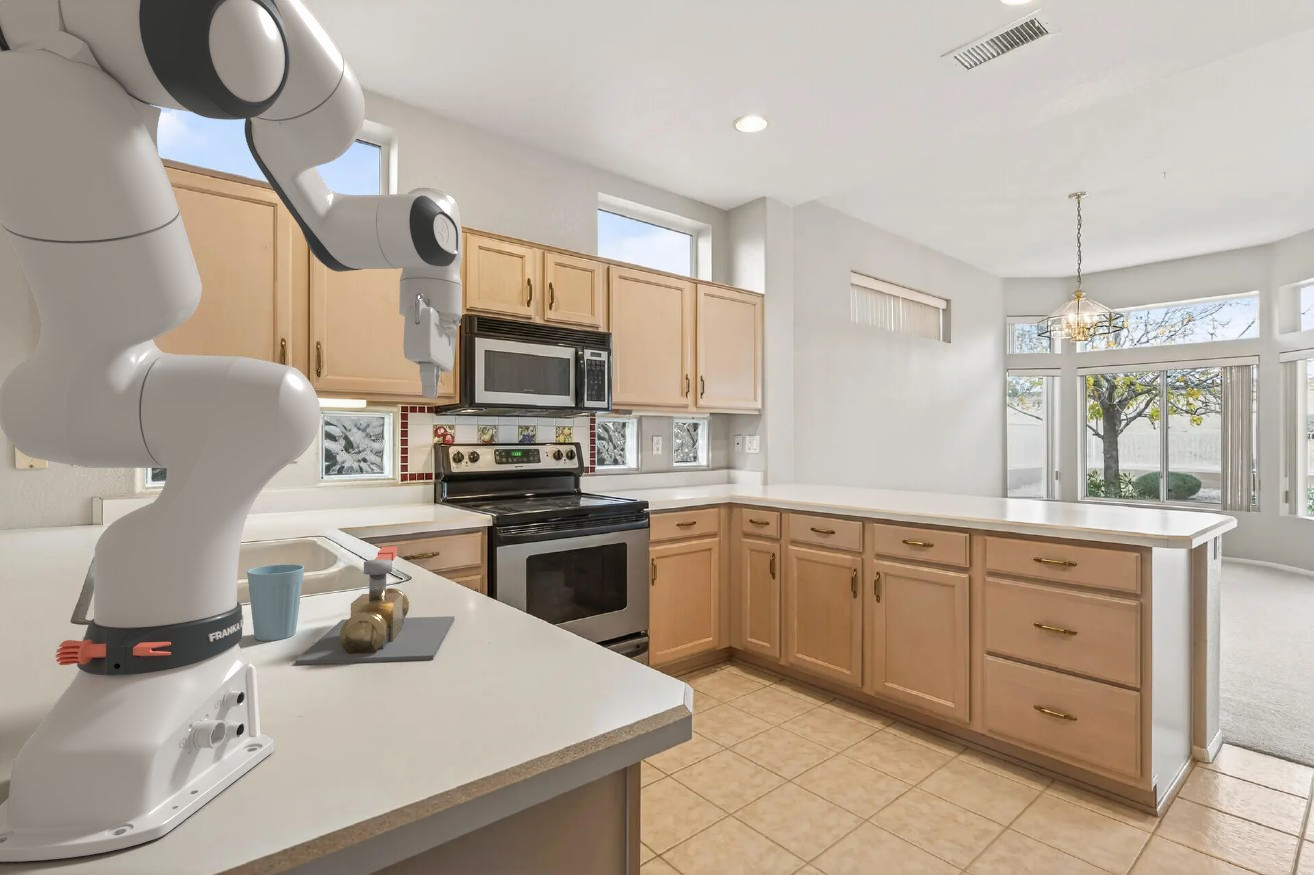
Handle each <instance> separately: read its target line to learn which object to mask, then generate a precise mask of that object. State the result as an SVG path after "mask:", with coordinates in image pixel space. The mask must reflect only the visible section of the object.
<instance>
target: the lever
mask: <svg viewBox="0 0 1314 875" xmlns="http://www.w3.org/2000/svg"><path fill="white" fill-rule="evenodd" d="M397 555H398V546H396V545H395V546H381V548H380V549H379V550H378V552H377V556H376V557H375V558H374V559H370V560H365V561H364V562H363V575H368V576H369V575H381V574H386V575H388V574H390V573H392V572H393V561H394V560H395V558H396V557H397Z"/></svg>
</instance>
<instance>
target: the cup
mask: <svg viewBox="0 0 1314 875" xmlns="http://www.w3.org/2000/svg"><path fill="white" fill-rule="evenodd" d="M304 572H305V566H304V565H301V564H291V563H287V564H286V563H285V564H283V563H281V564H271V565H270V564H269V565H262V566H257V567H253V568H251V569H248V570H247V571H246V574H247V583H248V584H247V585H248V591H249V600H250V608H251V618H252V626H253V627H252V628H253V635H254V639H255V640H257V641H260V642H261V641H262V642H270V641H273V642H274V641H279V640H284V639H288V638H291V637H293V636H295V635H296V634H297V633H296V632H297V627H298V626H297V625H298V618H299V610H300V603H301V598H302V597H301V594H302V588H303V579H304Z"/></svg>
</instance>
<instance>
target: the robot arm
mask: <svg viewBox="0 0 1314 875" xmlns="http://www.w3.org/2000/svg"><path fill="white" fill-rule="evenodd" d="M160 107H161V108H165V109H170V110H175V111H176V110H177V111H182V112H190V113H194V114H195V115H198V116H200V117H203V118H207V119H214V120H224V121H225V120H230V121H231V120H233V121H234V120H244V137H245V140H246V141H245V142H246V144H247V147H248V149H249V152H250V154H251V156H252V158H253V159H254V162H255V163H256V165H257V166H258V168H259V169H260V171H261V173H262V174H263V176H264V177H265V179H266V180H267V182H268V183H269V185H270V186H271V188H272V189H273V191H275V193H276V194H277V196H278V197H279V199H280V200H281V202H282V203H283V205H284V206H285V207H286V209H287V211H288V212H289V213H290V215H291V216H292V218H293V220H294V221H295V222H296V223H297V225H298V226H299V228H300V230H301V232H302V235H303V237H304V240H305V242H306V244H307V246H308V248H309V250H310V252H311V253H312V255H313V256H314V257H315V258H316V259H317V260H318V261H319V262H320V263H322V264H323V265H324V266H325V267H327V268H328V269H330V270H331V271H334V272H337V273H339V272H340V273H341V272H351V271H360V270H370V269H371V270H386V269H387V270H389V269H390V270H398V269H399V270H400V269H402V270H401V273H400V278H399V301H398V302H399V309H398V310H399V315H401V316H403V317H404V326H403V327H404V328H403V344H402V345H403V354H404V355H403V356H404V358H405V359H406V360H408V361H410V362H412V363H414V364H416V365H418V366H419V377H420V381H421V395H422V396H423V397H424V398H427V399H436V398H438V396H439V385H440V380H441V373H451V372H452V371H453V369H454V364H455V363H454V362H455V357H456V346H457V335H458V334H457V333H458V332H457V331H458V330H457V329H458V328H457V327H459V326H461V324H462V323H461V322H462V320H461V319H462V317H463V281H462V278H461V275H460V274H461V270H460V269H461V265H462V263H463V256H464V255H463V253H464V252H463V250H464V248H463V230H462V221H461V220H462V219H461V213H460V208H459V205H458V203H457V201H456V199H454V197H453V196H451V195H449V194H448V193H446V192H444V191H442V190H439V189H435V188H429V187H417V188H414V189H411V190H409V191H408V193H394V194H388V193H387V194H360V195H359V194H356V195H355V194H345V193H340V192H335V191H333V190H331V189H329V188H328V187H327V185H326V183H325V182H324V180H323V178H322V176H321V175H320V172H319V171H318V169H317V168H316V167H318V166H322V165H326V164H329V163H331V162H333V161H335V160H337V159H338V158H340V157H341V156H342V155H344V154H345V153H346V152H347V151H348V150H349V149H350V148H351V147H352V145H353V144H354V143H355V141H356V140H357V139H358V137H359V135H360V133H361V131H362V128H363V124H364V121H365V115H366V102H365V96H364V94H363V90H362V87H361V84H360V82H359V79H358V77H357V76H356V73H355V71H354V70H353V68H352V66H351V65H350V63H349V61H348V59H346V57H345V55H344V54H343V52H342V50H341V49H340V47H339V46H338V44H337V42H336V41H335V40H334V38H333V36H332V35H331V33H330V32H329V30H328V28H326V26H325V25H324V23H323V22H322V20H321V19H320V18H319V16H318V15H317V14H316V12H315V11H314V10H313V9H312V7H311V6H310V5H309V3H308V2H307V1H306V0H0V225H1V227H2V228H3V230H4V232H5V235H6V237H7V239H8V240H9V243H10V245H11V248H12V249H13V251H14V254H15V257H16V258H17V261H18V263H19V265H20V268H21V270H22V272H23V274H24V277H25V279H26V281H27V284H28V286H29V290H30V291H31V293H32V297H33V299H34V301H35V305H36V308H37V312H38V315H39V322H40V330H39V332H40V335H39V339H38V342H37V343H38V344H37V346H36V348H35V350H34V351H33V352H32V354H31V355H29V356H28V357H27V358H26V359H24V360H23V361H22V362H20V363H18V364H17V365H16V366H15V367H14V368H13V369H12V370H11V371H10V372H9V374H8V375H7V376H6V377H5V379H4V381H3V382H2V383H1V387H0V428H1V430H2V432H3V434H4V436H6V439H7V440H8V442H10V443H11V445H12V446H13V447H14V448H15V449H16V450H17V451H18V452H20V453H21V454H23V455H25V456H27V457H29V458H32V459H37V460H43V461H47V462H54V463H58V464H63V465H64V464H65V465H70V466H71V465H72V466H76V467H77V466H78V467H82V468H83V467H84V468H91V469H93V468H94V469H108V468H109V469H112V468H113V469H119V468H120V469H123V468H124V469H131V468H132V469H138V468H139V469H166V477H165V482H164V483H163V484H164V485H163V488H162V490H161V492H160V493H159V495H158V496H157V498H156V499H155V500H154V501H153V502H151V503H149V504H146V505H144V506H141V507H139V508H137V509H135V510H133V511H131V512H128V513H127V514H124V515H123V516H121V517H118V518H117V519H116V520H115V521H113V522H112V523H110V525H109V526H107V528H106V529H105V530H104V531H103V532H102V533H101V535H100V536H99V538H98V539H97V541H96V544H95V546H94V576H93V580H94V583H93V584H94V585H93V586H94V587H93V588H94V589H93V618H92V619H91V620H90V622H88V624H87V628H86V631H85V634H84V636H83V637H82V641H81V640H74V639H67V640H64V641H63V642H61V643H60V644H59V646H58V649H56V653H57V654H55V658H56V660H55V661H56V663H58V665H60V666H68V665H69V666H70V665H74V664H76V666H77V668H78V669H79V670H78V672H77V674H76V675H75V676H74V678H73V680H71V683H70V684H69V686H67V688H66V689H65V691H64V692H63V693H62V694H61V696H60V697H59V698H58V700H57V701H56V703H54V705H53V706H52V708H51V709H50V710H49V712H48V713H47V714H46V716H45V717H44V718H43V719H42V721H41V722H40V723H39V725H38V726H37V728H36V729H35V730H34V731H33V733H32V735H30V737H29V738H28V739H27V740H26V742H25V743H24V745H23V746H22V747H21V748H20V749H19V750H18V752H17V754H16V756H15V759H14V761H13V765H12V767H11V773H10V779H9V786H8V787H9V789H8V797H7V798H6V799H5V801H3V802H2V803H1V804H0V862H8V863H9V862H30V861H31V862H33V861H34V862H35V861H48V860H49V861H50V860H59V859H68V858H76V857H83V856H90V855H95V854H101V853H107V852H112V851H115V850H116V851H117V850H122V849H125V848H129V847H132V846H136V845H140V844H143V843H146V842H150V841H153V840H156V839H158V838H161V837H163V836H164V835H167V833H170V831H172V830H173V829H175V827H177V826H179V824H181V823H183V822H184V821H185V820H186V819H188V818H189V817H190V816H191V815H193V814H194V813H195V812H196V811H198V810H199V809H200V808H202V807H203V806H204V805H206V804H207V803H208V802H210V801H211V800H212V799H214V798H215V797H216V796H218V795H219V794H221V793H222V791H224V790H225V789H226V788H228V787H229V786H230V785H232V784H233V783H234V782H236V781H237V780H238V779H240V778H241V777H242V776H243V775H245V774H246V773H247V772H248V771H250V770H251V769H253V767H255V766H257V765H258V764H259V763H261V762H262V761H263V760H264V759H266V758H267V757H268V756H269V755H271V754H272V753H273V752H274V751H275V743H274V738H273V737H271V736H269V735H267V734H263V733H261V725H260V724H261V723H260V710H259V697H258V696H259V695H258V680H257V679H258V678H257V670H256V667H255V666H254V665H253V663H252V662H251V661H249V659H247V657H246V656H245V655H244V653H243V651H242V649H241V647H240V644H239V642H240V641H242V639H243V626H244V615H243V606H242V604H241V603H240V602H239V601H238V582H239V581H238V579H239V563H240V552H241V543H242V537H243V536H242V535H243V530H244V526H245V522H246V520H247V517H248V515H249V514H250V511H251V508H252V506H253V504H254V503H255V501H256V500H257V497H258V496H259V494H260V493H261V491H262V490H263V489H264V488H265V486H266V485H267V484H268V483H269V482H270V480H272V478H274V477H275V476H276V475H277V474H278V473H279V472H280V471H281V470H283V469H284V468H285V467H287V466H288V465H290V464H291V463H293V462H294V461H296V460H298V458H300V457H301V456H302V455H303V454H304V453H305V452H306V451H307V450H308V449H309V448H310V447H311V445H312V443H313V442H314V440H315V438H316V437H317V434H318V431H319V429H320V423H321V422H320V421H321V405H320V401H319V400H320V399H319V397H318V394H317V393H316V390H315V389H314V386H313V384H312V383H311V382H310V380H309V379H308V378H307V377H306V376H305V374H304V373H303V372H302V371H300V370H299V369H298V368H296V367H294V366H290V365H287V364H282V363H277V362H273V361H269V360H262V359H259V358H258V359H257V358H253V357H249V356H248V357H247V356H237V355H235V356H234V355H233V356H232V355H231V356H230V355H228V356H227V355H209V354H208V355H205V354H204V355H203V354H201V355H200V354H181V353H180V354H178V353H176V354H175V353H170V352H164V351H163V350H161V349H160V348H159V347H158V346H157V345H156V343H155V341H154V340H155V339H157V338H159V337H162V336H164V335H166V334H168V333H170V332H171V331H174V330H175V329H177V328H178V327H180V326H182V325H183V324H184V323H185V322H187V321H188V320H189V319H190V318H191V317H192V316H193V315H194V314H195V312H196V311H197V309H198V307H199V304H200V302H201V298H202V292H203V282H202V280H201V276H200V273H199V272H200V271H199V269H198V266H197V262H196V260H195V256H194V253H193V250H192V247H191V244H190V240H189V237H188V233H187V230H186V227H185V224H184V221H183V217H182V214H181V211H180V210H181V209H180V208H179V205H178V202H177V199H176V196H175V192H174V189H173V186H172V184H171V182H170V179H169V176H168V174H167V171H166V168H165V166H164V164H163V162H162V159H161V157H160V155H159V150H158V148H159V147H158V128H159V122H160V121H159V120H160V116H161V112H162V109H161V108H160Z"/></svg>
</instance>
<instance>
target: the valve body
mask: <svg viewBox="0 0 1314 875" xmlns="http://www.w3.org/2000/svg"><path fill="white" fill-rule="evenodd" d="M368 579H369V580H368V582H369V583H368V586H369V587H368V588H369V589H368V593H362V594H361V595H359V597H357V598H356V599H355V600H354V601H352V602H351V603H350V617H349V618H347V619H348V620H347V621H346V622H345V623H344V624H343V626H342V628H341V630H340V643H341V645H342V647H343V648H344V650H345V651H346V652H348V653H349V654H357V653H375V652H376V651H377V650H378V649H384V648H385V646H386V645H387V644H388V643H389V642H393V641H394V639H395V638H396V637H397V636H398V634H399V633H400V632H401V631H402V625H403V624H404V618H406V616H407V614H409V609H410V602H409V598H408V596H407V594H405V593H404V592H403V591H402V590H400V589H397V588H394V587H389V588H387V574H381V575H368Z"/></svg>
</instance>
